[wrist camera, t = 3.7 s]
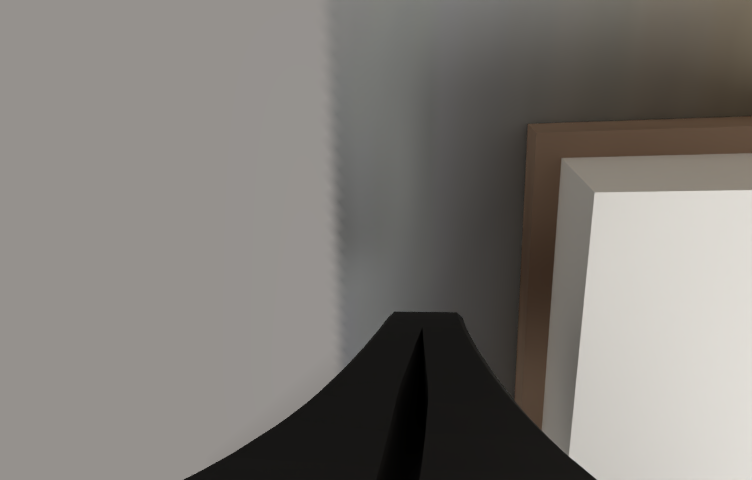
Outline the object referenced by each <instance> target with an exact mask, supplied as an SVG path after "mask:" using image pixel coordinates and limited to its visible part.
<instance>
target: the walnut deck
mask: <svg viewBox="0 0 752 480" xmlns="http://www.w3.org/2000/svg"><path fill="white" fill-rule="evenodd" d="M739 153H752V116H742V117H713V118H684V119H655V120H626V121H597V122H568V123H538V124H528V131H527V152H526V172H525V193H524V213H523V234H522V254H521V275H520V296H519V316H518V337H517V357H516V378H515V398H514V401H515V402H516V403H517V404H518V405H519V406H520V408H521V409H522V410H523V411H524V412H525V413H526V414H527V416H528V417H529V418H530V419H531V420H532V421H533V422H534V423H535V424H536V425H537V426H538V427H539V428H540V429H541V430H542V419H543V405H544V392H545V378H546V364H547V350H548V337H549V323H550V309H551V296H552V282H553V268H554V254H555V241H556V227H557V213H558V200H559V186H560V172H561V158H579V157H619V156H659V155H699V154H739Z"/></svg>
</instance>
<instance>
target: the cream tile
mask: <svg viewBox="0 0 752 480" xmlns="http://www.w3.org/2000/svg"><path fill="white" fill-rule="evenodd" d="M542 431H543V432H544V433H545V434H546V435H547V437H548V438H549V439H551V440H552V441H553V442H554V443H555V444H556V445H557V446H558V447H559V448H560V449H561V450H562V451H563V452H564V453H565V454H567V455H568V456H569V457H570V458H571V459H573V460H574V461H575V462H576V463H577V464H579V465H580V466H581V467H582V468H583V469H585V470H586V471H587V472H588V473H590V474H591V475H592V476H593V477H594V478H596V479H597V480H752V153H739V154H699V155H659V156H619V157H579V158H561V172H560V186H559V200H558V213H557V227H556V241H555V254H554V268H553V282H552V296H551V309H550V323H549V337H548V350H547V364H546V378H545V392H544V405H543V419H542Z"/></svg>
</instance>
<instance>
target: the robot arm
mask: <svg viewBox="0 0 752 480" xmlns="http://www.w3.org/2000/svg"><path fill="white" fill-rule="evenodd" d="M184 480H597V479H596V478H594V477H593V476H592V475H591V474H590V473H588V472H587V471H586V470H585V469H583V468H582V467H581V466H580V465H579V464H577V463H576V462H575V461H574V460H573V459H571V458H570V457H569V456H568V455H567V454H565V453H564V452H563V451H562V450H561V449H560V448H559V447H558V446H557V445H556V444H555V443H554V442H553V441H552V440H551V439H549V438H548V437H547V435H546V434H545V433H544V432H543V431H542V430H541V429H540V428H539V427H538V426H537V425H536V424H535V423H534V422H533V421H532V420H531V419H530V418H529V417H528V416H527V414H526V413H525V412H524V411H523V410H522V409H521V408H520V406H519V405H518V404H517V403H516V402H515V401H514V399H513V398H512V397H511V396H510V394H509V393H508V392H507V391H506V389H505V388H504V387H503V386H502V384H501V383H500V382H499V380H498V379H497V378H496V376H495V375H494V373H493V372H492V370H491V369H490V367H489V366H488V364H487V363H486V362H485V360H484V359H483V357H482V356H481V354H480V352H479V351H478V349H477V347H476V346H475V344H474V342H473V340H472V339H471V337H470V335H469V333H468V331H467V329H466V326H465V324H464V321H463V318H462V317H461V316H460V315H459V314H458V313H450V312H394V313H393V314H392V315H390V316H389V317H388V319H387V320H386V321H385V323H384V324H383V325H382V326H381V328H380V329H379V330H378V331H377V332H376V334H375V335H374V336H373V337H372V338H371V340H370V341H369V342H368V343H367V344H366V345H365V347H364V348H363V349H362V350H361V351H360V352H359V353H358V354H357V355H356V356H355V357H354V359H353V360H352V361H351V362H350V363H349V364H348V365H347V366H346V367H345V368H344V369H343V370H342V371H341V372H340V373H339V374H338V375H337V376H336V377H335V378H334V379H333V380H332V381H331V382H330V383H329V384H328V385H326V386H325V387H324V388H323V389H322V390H321V391H320V392H319V393H318V394H317V395H315V396H314V397H313V398H312V399H311V400H310V401H308V402H307V403H306V404H305V405H304V406H302V407H301V408H300V409H298V410H297V411H296V412H294V413H293V414H292V415H290V416H289V417H288V418H286V419H285V420H284V421H282V422H281V423H279V424H278V425H276V426H275V427H273V428H272V429H270V430H269V431H267V432H265V433H264V434H262V435H261V436H259V437H258V438H256V439H254V440H253V441H251V442H250V443H248V444H247V445H245V446H244V447H242V448H240V449H239V450H237V451H236V452H234V453H233V454H231V455H229V456H227V457H226V458H224V459H222V460H220V461H218V462H216V463H215V464H213V465H211V466H209V467H207V468H206V469H204V470H202V471H200V472H198V473H196V474H194V475H192V476H190V477H188V478H186V479H184Z"/></svg>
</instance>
